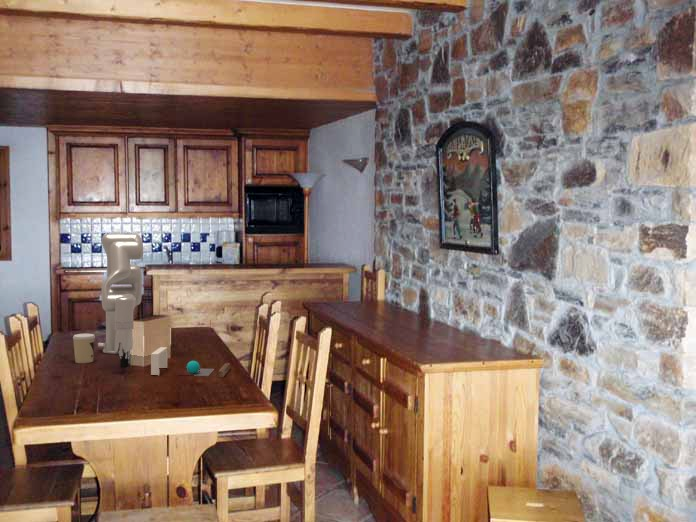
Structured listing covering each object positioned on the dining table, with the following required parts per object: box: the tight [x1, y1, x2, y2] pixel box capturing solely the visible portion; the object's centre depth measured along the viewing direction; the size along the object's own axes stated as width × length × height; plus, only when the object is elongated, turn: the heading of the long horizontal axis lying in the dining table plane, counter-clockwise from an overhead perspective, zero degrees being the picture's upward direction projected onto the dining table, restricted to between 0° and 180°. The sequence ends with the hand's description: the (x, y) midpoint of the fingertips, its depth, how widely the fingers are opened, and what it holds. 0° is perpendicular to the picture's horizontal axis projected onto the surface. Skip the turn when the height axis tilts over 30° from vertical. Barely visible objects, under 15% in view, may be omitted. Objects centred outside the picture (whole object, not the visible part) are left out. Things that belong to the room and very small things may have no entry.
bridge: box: [150, 346, 168, 376], centre depth 314 cm, size 3×14×9 cm, turn 179°
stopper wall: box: [217, 362, 231, 378], centre depth 314 cm, size 2×16×2 cm, turn 179°
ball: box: [186, 360, 201, 374], centre depth 312 cm, size 6×6×6 cm
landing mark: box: [193, 368, 215, 377], centre depth 314 cm, size 13×13×1 cm
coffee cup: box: [72, 333, 96, 364], centre depth 331 cm, size 9×9×12 cm
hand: (124, 367), depth 314 cm, fingers closed
